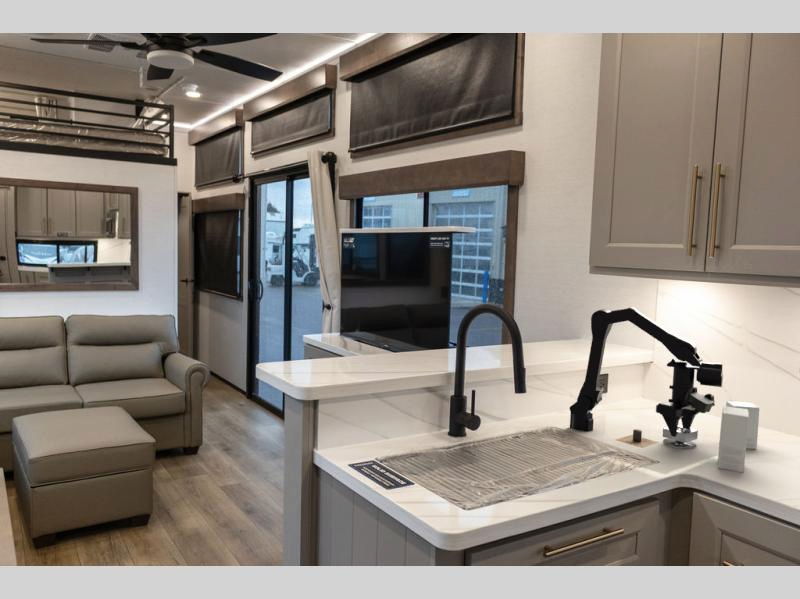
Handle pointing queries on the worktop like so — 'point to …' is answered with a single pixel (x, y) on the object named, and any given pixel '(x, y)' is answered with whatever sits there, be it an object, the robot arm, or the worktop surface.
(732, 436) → the skincare box
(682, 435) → the collar
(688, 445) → the hub
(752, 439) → the supplement box
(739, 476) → the worktop surface
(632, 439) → the stand
